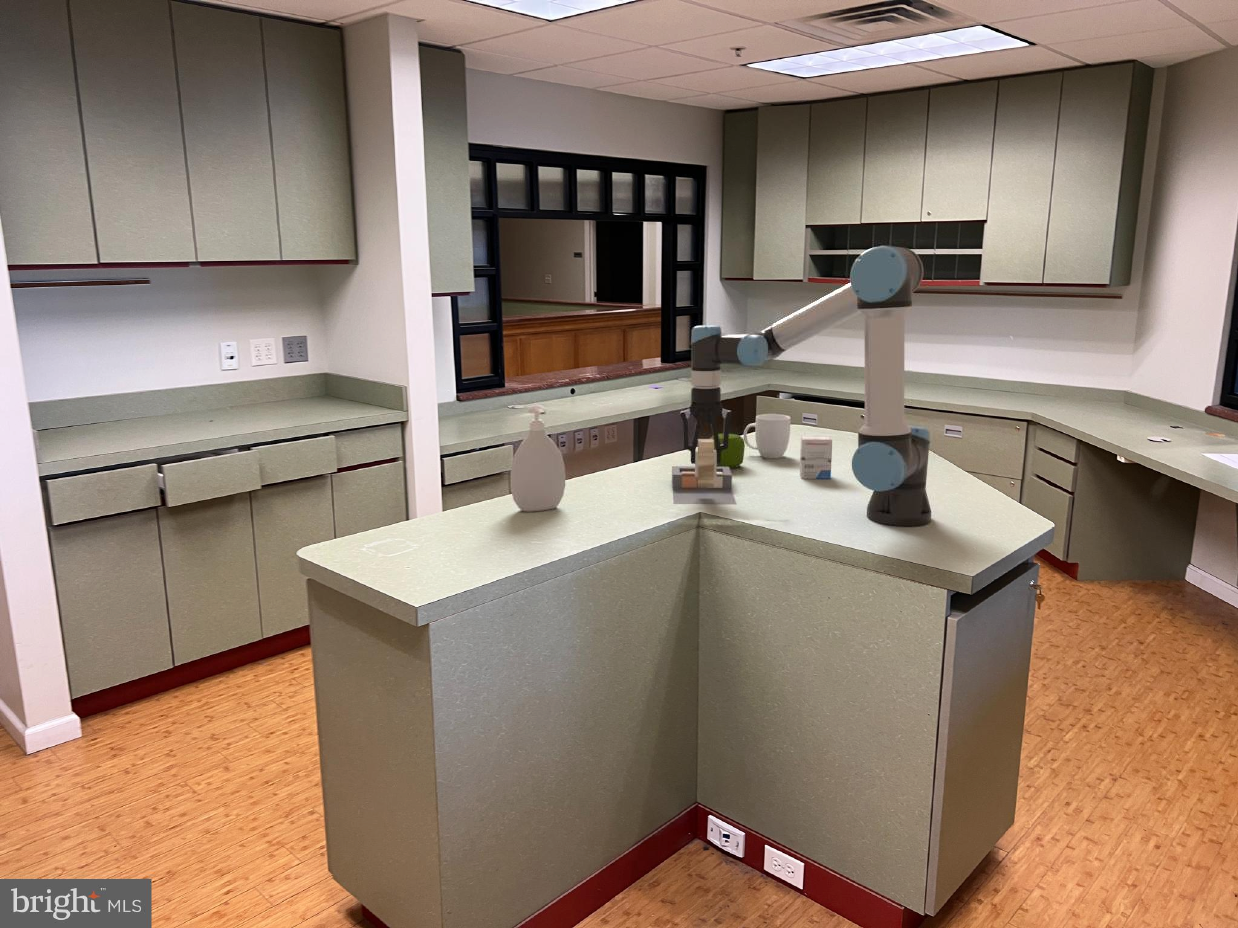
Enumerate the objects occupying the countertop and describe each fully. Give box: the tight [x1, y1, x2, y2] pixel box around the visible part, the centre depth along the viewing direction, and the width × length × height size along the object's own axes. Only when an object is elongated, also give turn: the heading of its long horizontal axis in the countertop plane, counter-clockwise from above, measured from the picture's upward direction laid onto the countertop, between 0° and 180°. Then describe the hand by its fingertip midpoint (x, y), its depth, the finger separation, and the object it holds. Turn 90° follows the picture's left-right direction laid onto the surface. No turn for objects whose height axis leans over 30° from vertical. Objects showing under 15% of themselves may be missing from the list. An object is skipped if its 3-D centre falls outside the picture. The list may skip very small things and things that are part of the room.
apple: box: [709, 433, 746, 470], centre depth 270 cm, size 11×11×11 cm
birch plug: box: [697, 438, 714, 487], centre depth 229 cm, size 4×4×12 cm
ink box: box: [799, 436, 833, 480], centre depth 256 cm, size 9×5×12 cm, turn 84°
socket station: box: [671, 465, 737, 505], centre depth 237 cm, size 26×16×6 cm, turn 178°
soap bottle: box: [509, 403, 566, 513], centre depth 220 cm, size 14×8×27 cm, turn 114°
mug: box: [743, 413, 791, 460], centre depth 284 cm, size 15×11×13 cm
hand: (705, 475), depth 230 cm, fingers closed on birch plug, 4 cm apart
